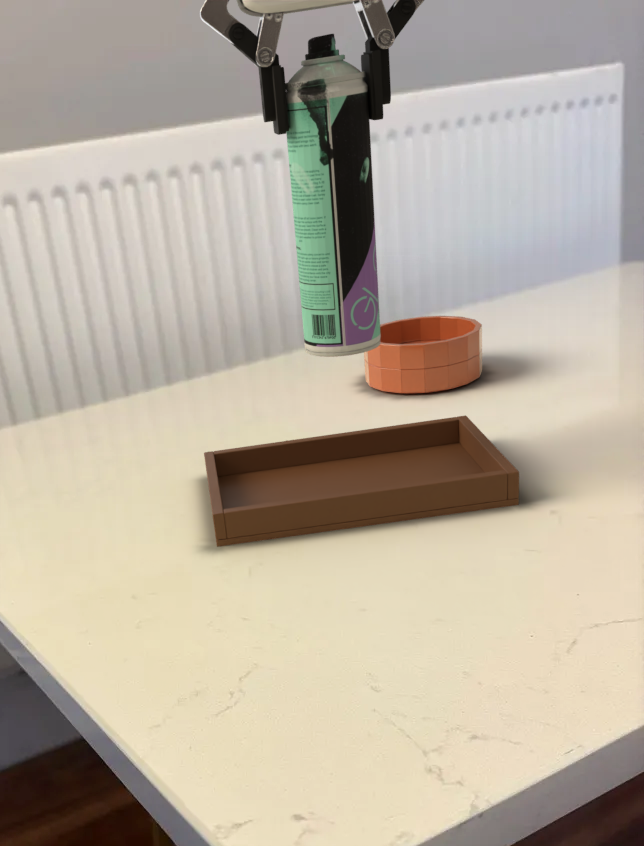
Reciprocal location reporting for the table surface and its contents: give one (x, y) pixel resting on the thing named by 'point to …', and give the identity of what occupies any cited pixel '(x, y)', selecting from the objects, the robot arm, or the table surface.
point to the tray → (356, 480)
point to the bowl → (425, 355)
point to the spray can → (333, 202)
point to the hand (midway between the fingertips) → (327, 123)
